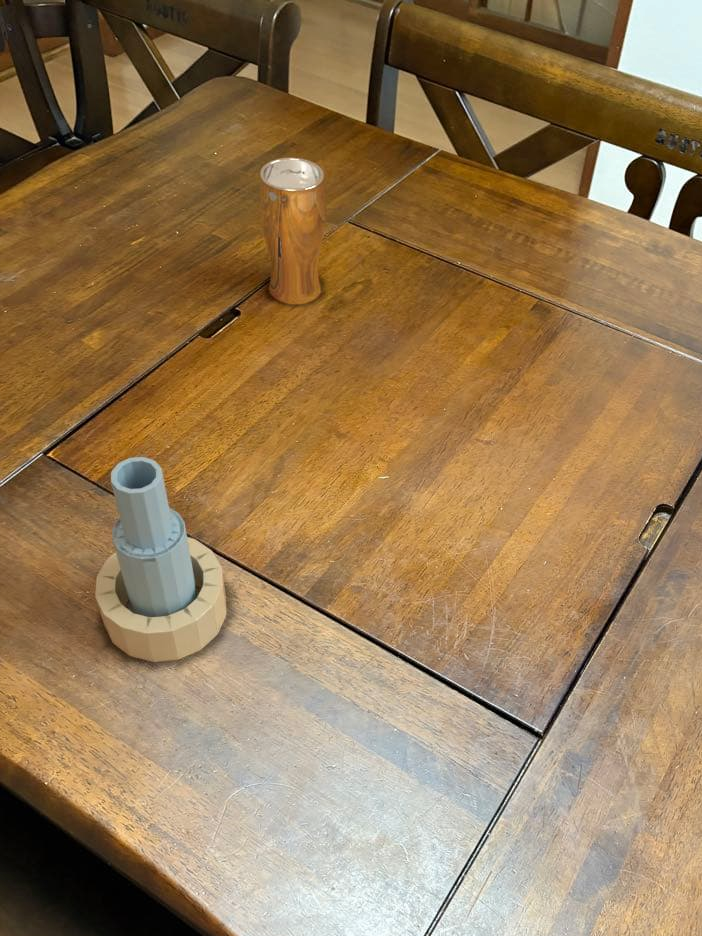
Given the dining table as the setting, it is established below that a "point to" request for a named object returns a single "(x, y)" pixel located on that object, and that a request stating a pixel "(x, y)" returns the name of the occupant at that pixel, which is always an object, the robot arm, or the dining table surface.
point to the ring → (166, 632)
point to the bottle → (150, 541)
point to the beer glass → (293, 226)
